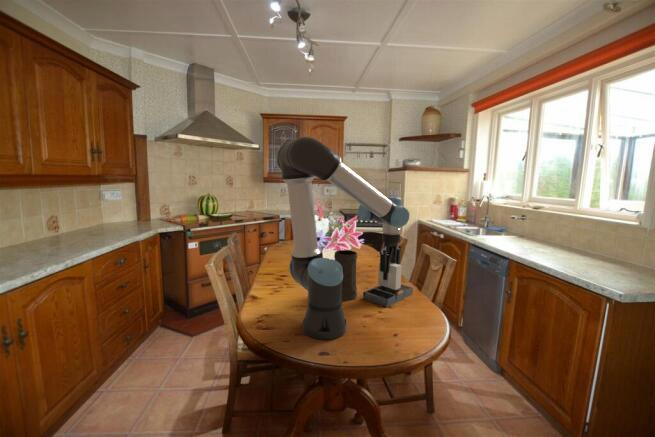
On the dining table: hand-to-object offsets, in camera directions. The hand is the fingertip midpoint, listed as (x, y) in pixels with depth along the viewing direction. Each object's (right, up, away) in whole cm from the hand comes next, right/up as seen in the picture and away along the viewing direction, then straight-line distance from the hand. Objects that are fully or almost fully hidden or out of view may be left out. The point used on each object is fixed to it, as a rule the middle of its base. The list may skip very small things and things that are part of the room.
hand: (389, 285), depth 133 cm
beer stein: (-19, -5, +3) cm, 20 cm away
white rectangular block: (0, 0, 0) cm, 0 cm away
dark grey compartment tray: (0, -5, +1) cm, 5 cm away
